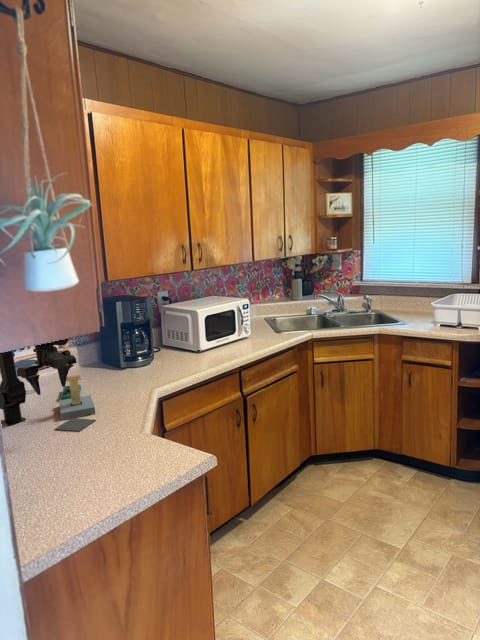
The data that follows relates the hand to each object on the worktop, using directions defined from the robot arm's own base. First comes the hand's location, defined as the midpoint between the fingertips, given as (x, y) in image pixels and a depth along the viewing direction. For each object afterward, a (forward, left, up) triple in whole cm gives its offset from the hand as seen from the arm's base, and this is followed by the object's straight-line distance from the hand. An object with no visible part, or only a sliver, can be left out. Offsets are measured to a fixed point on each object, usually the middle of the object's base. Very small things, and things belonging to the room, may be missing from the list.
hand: (51, 390), depth 159 cm
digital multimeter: (-35, +26, -16) cm, 47 cm away
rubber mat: (-2, +8, -16) cm, 18 cm away
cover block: (-16, +17, -16) cm, 28 cm away
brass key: (-16, +17, -16) cm, 28 cm away
